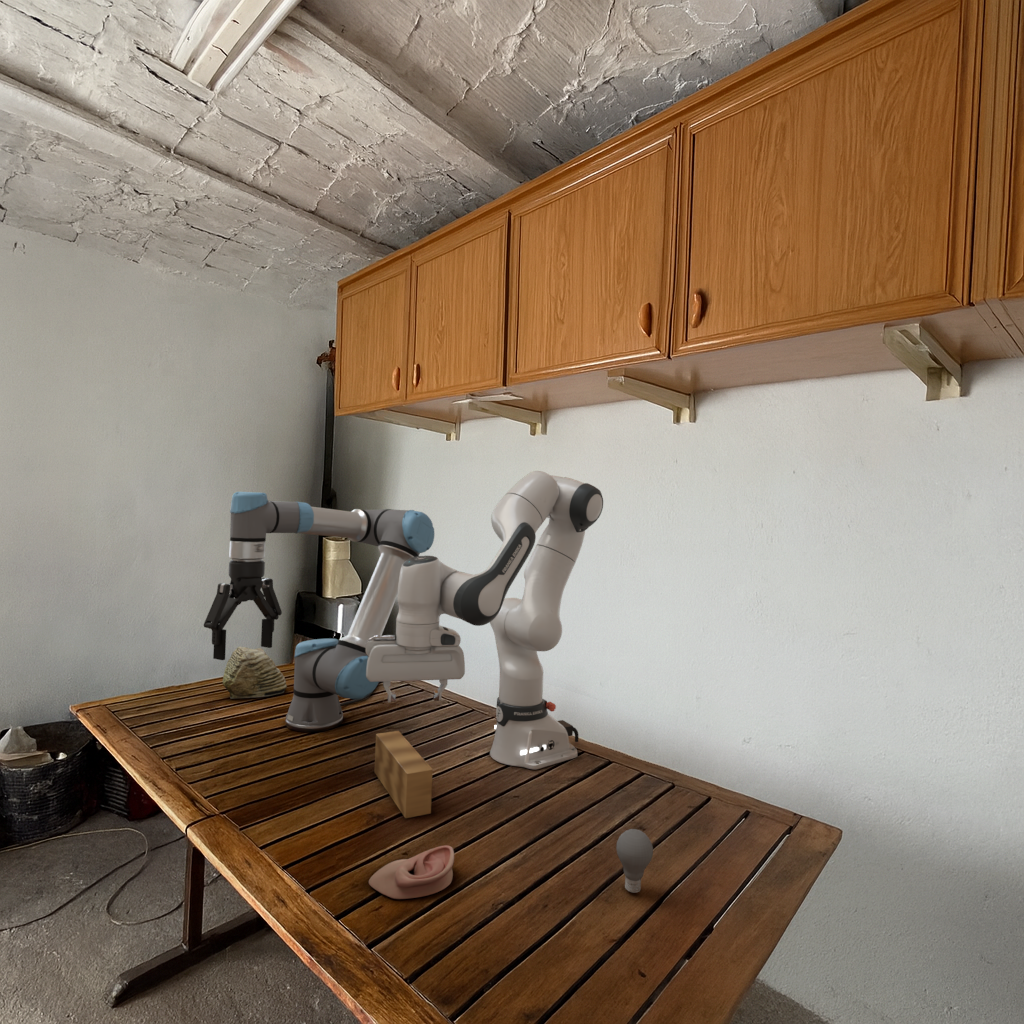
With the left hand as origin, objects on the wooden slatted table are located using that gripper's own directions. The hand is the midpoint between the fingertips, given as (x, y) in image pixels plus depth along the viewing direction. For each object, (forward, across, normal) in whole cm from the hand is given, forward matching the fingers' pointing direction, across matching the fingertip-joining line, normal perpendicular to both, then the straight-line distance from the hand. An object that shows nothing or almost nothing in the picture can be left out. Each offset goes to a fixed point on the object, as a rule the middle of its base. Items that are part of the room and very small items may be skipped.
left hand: (243, 652), depth 144 cm
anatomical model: (+27, -17, -57) cm, 65 cm away
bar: (+27, +9, -38) cm, 47 cm away
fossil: (+27, +42, +38) cm, 63 cm away
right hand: (+5, +5, -43) cm, 43 cm away
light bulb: (+27, -3, -91) cm, 95 cm away
